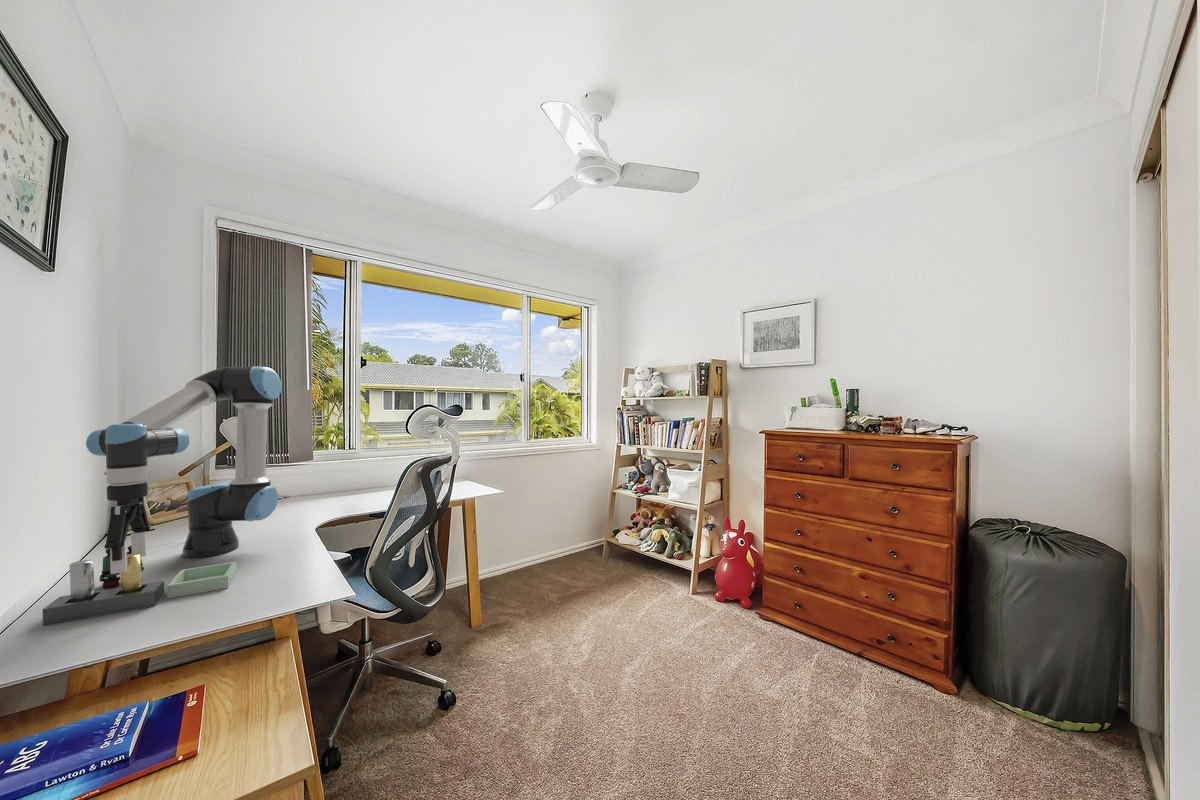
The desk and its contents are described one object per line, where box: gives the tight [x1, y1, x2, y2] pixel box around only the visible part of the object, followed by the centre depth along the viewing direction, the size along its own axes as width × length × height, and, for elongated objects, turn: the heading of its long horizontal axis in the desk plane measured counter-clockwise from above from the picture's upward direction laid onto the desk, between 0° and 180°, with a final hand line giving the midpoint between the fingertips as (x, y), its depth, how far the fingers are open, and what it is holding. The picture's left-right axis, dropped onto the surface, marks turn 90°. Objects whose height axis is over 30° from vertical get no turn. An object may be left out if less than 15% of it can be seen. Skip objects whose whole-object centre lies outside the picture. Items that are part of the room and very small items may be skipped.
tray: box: [166, 561, 238, 599], centre depth 135 cm, size 13×13×3 cm
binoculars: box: [99, 545, 145, 590], centre depth 136 cm, size 9×11×10 cm
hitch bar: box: [42, 579, 166, 627], centre depth 120 cm, size 8×20×4 cm, turn 119°
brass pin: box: [119, 553, 143, 595], centre depth 123 cm, size 4×4×13 cm
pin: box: [69, 559, 95, 603], centre depth 118 cm, size 4×4×13 cm
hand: (129, 564), depth 122 cm, fingers open, 13 cm apart
